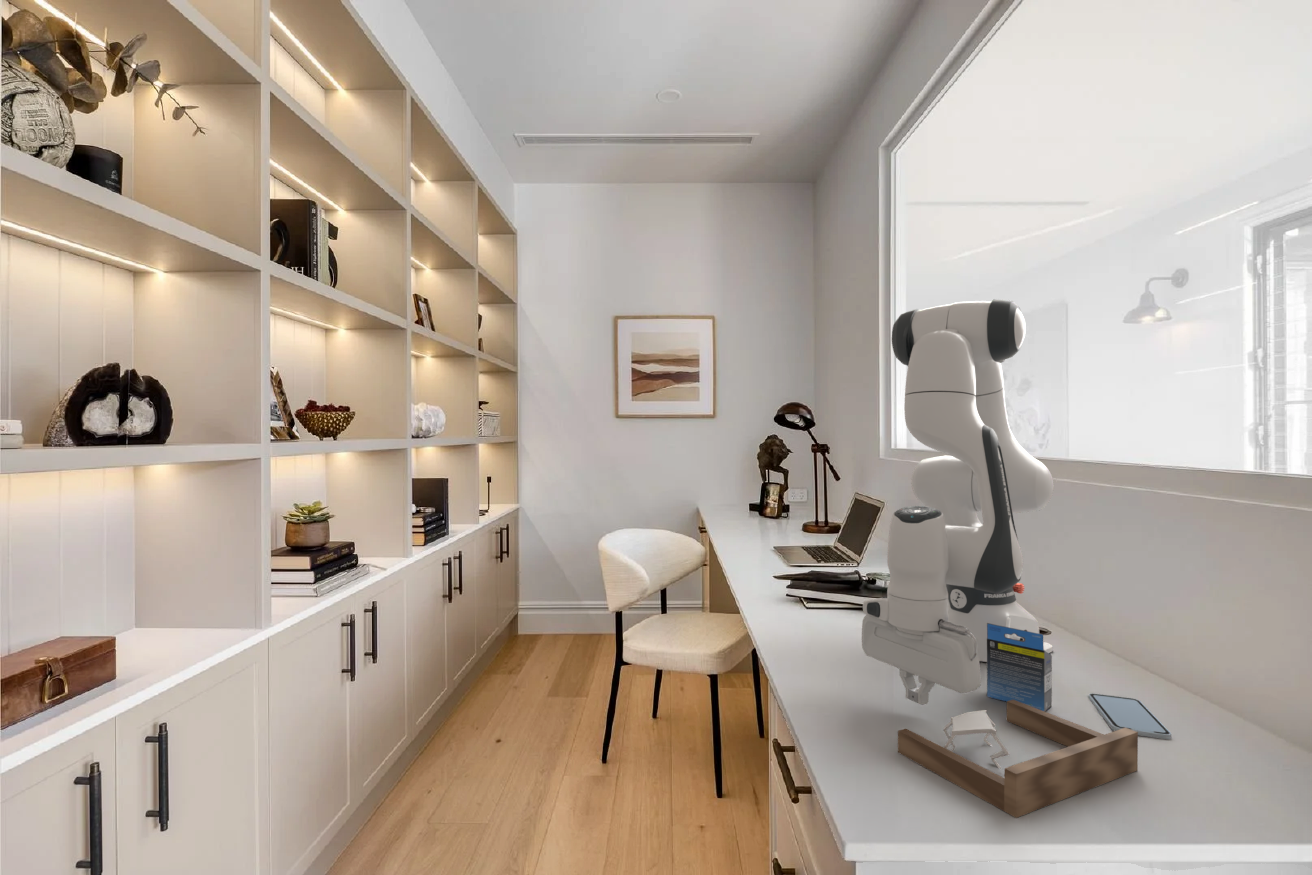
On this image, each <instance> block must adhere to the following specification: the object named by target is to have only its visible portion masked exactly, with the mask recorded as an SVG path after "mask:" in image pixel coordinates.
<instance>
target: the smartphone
mask: <svg viewBox="0 0 1312 875" xmlns="http://www.w3.org/2000/svg"><path fill="white" fill-rule="evenodd" d="M1088 699H1089V700H1090V701H1091V702H1092V704H1093V705H1094V708H1096V710H1097V711H1098V712H1099V714H1100V715H1101V716H1102V718H1103V719H1104V721H1105V722H1106V723H1107V725H1108V726H1109V727H1110V728H1111V730H1112V731H1113V732H1114V731H1117V730H1120V729H1123V728H1128V729H1131V730H1133V731H1136V732H1138V737H1140V736H1141V737H1145V738H1146V737H1148V738H1155V739H1161V740H1171V739H1172V732H1171V731H1170V730H1169V729H1168V728H1167V727H1166V726H1165V725H1164V724H1163V723H1162V722H1161V721H1160V720H1159V718H1157V716H1155V714H1154V713H1153V712H1152V711H1151V710H1149V708H1148V707H1147V706H1145V704H1144V703H1143V702H1142V701H1141V700H1139V699H1137V698H1133V697H1127V696H1126V697H1124V696H1118V695H1117V696H1115V695H1109V694H1100V693H1088Z"/></svg>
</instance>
